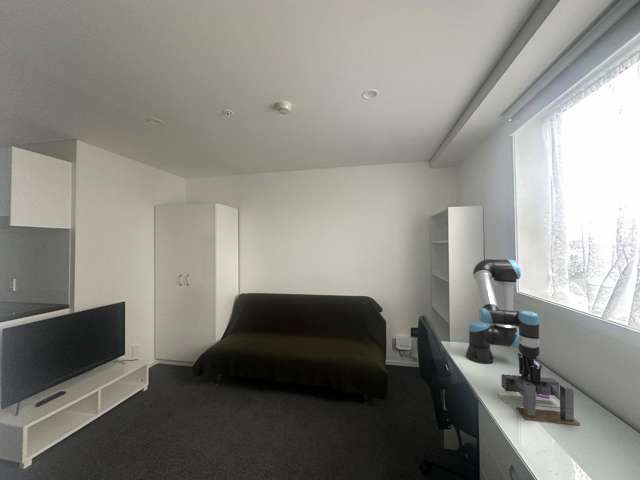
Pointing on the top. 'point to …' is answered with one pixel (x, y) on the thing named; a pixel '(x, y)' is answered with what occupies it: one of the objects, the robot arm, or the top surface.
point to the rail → (511, 381)
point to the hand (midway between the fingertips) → (529, 394)
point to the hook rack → (546, 415)
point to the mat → (539, 401)
